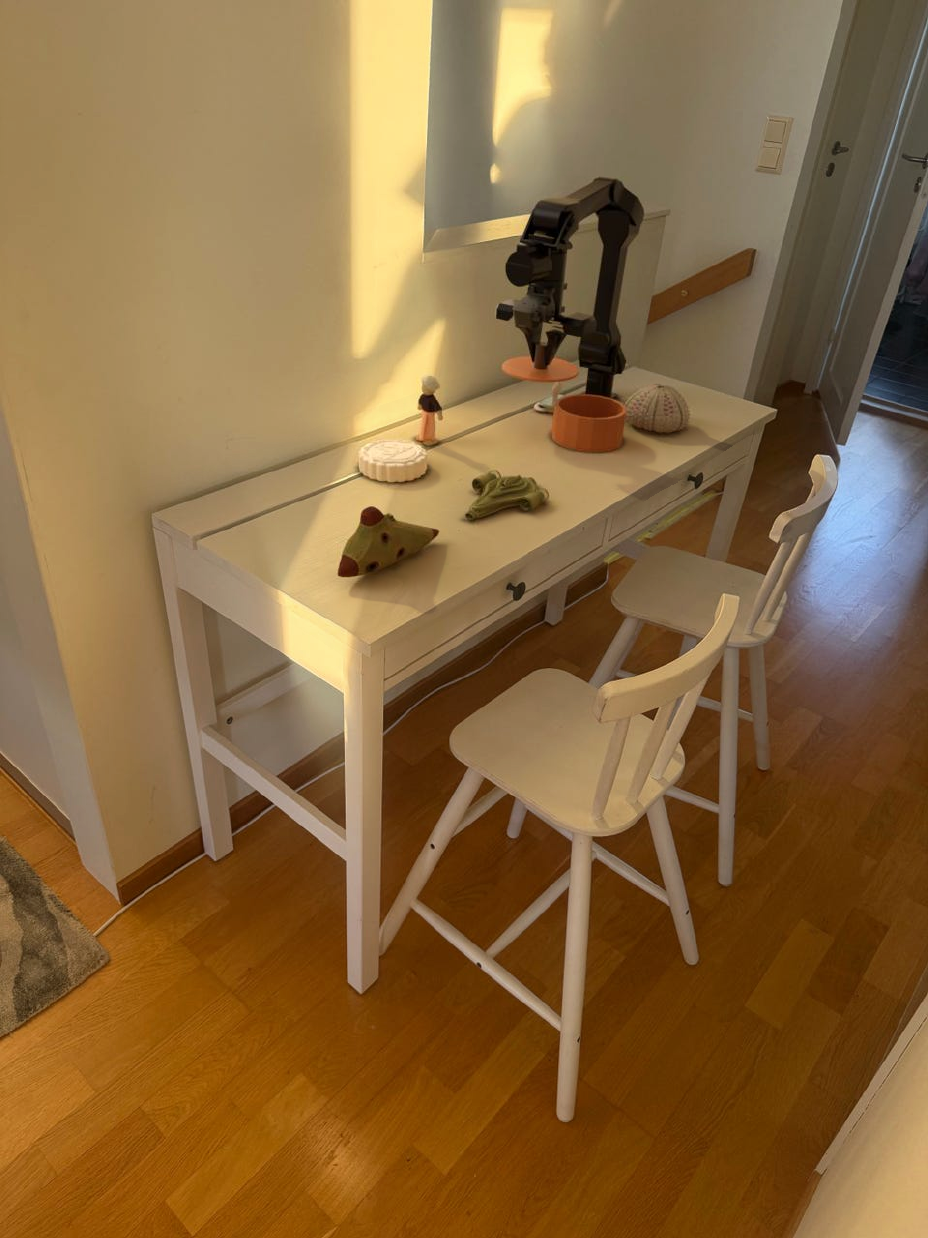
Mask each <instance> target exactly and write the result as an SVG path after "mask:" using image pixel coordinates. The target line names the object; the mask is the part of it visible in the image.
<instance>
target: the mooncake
mask: <svg viewBox="0 0 928 1238" xmlns="http://www.w3.org/2000/svg"><path fill="white" fill-rule="evenodd" d="M358 467H359V471H360V472H361V474H362V475H363V476H365V477H368V478H369V479H371V480H377V481H378V482H388V483H396V482H398V483H403V482H405V481H409V482H410V481H413V480H415V479H419V478H421V476H422V475H425V474H426V471H427V470H428V453H427V449H425V448H423V446H421V445H420V444H417V443H415V442H413V441H407V440H405V439H380V440H373V441H372V442H369V443H367V444H365V446H364V445H363V446H362V447H361V448H360V450H359V451H358Z"/></svg>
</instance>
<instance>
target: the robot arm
mask: <svg viewBox="0 0 928 1238" xmlns="http://www.w3.org/2000/svg"><path fill="white" fill-rule="evenodd" d="M593 214H595V216H596V217H597V232H598V235H599V237H600V240H601V243H602V251H601V252H602V253H601V259H600V265H599V272H598V279H597V285H596V286H597V287H596V293H595V299H594V305H593V313H592V315H591V314H587V313H582V312H575V313H572V314H570V315H568V316H567V315H562V314H563V313H565V311H566V306H565V305H563V297H564V291H566V290H568V282H565V277H566V267H567V258H568V250H572V249H573V248H574V245H573V243H572V242H571V241H570V239H571V237H572V236H573V235H575V233H576V232H578V231H579V228H580V223H581V221H583V220H584V219H586V218H588V217H590V216H591V215H593ZM644 218H645V209H644V206H643V204H642V203H641V201H640V199H639V197H638V196H637V195H636V194H635V193H633V192H632V191H631V190H629V188H626V187H625V185H624V183H623V181H621V180H619V179H618V178H614V177H606V176H598V177H595V178H594V179H592V182H589V183H588V184H586V185H584V186H583V187H580V188H579V189H577V190H575V191H574V192H572V193H570V194H568V195H566V196H564V197H550V198H546V199H541V200H539V201H537V203H535V205H534V207H533V209H532V210H531V212H530V214H529V218H528V220H527V222H526V225H525V227H524V229H523V232H522V234H521V236H520V238H519V243H517V244H516V251H514V252H512V253H511V254H510V255H509V256H508V258H507V259H506V262H505V265H504V269H505V276H506V278H507V279H508V281H509V283H510V284H512V285H513V286H515V287H517V288H523V287H527V290H526V291H527V292H526V294H525V296H523V297H521V298H520V299H516V298H510V299H507V300H503V301H501V302H499V303H498V304H497V305H496V307H495V310H494V318H495V319H496V320H499V321H504V322H509V321H511V319H513V320H514V322H513V323H514V327H515V328H516V329H519V330H520V331H521V332H522V333H523V335H524V338H525V340H526V343H527V347H528V351H529V356H531V359H532V362H533V363H534V359H535V348H536V343H537V342H541V339H542V333H543V327H544V323H545V324H548V325H551V329H549V330H547V331H545V335H546V338H547V341H546V342H547V350H546V358H545V365H546V366H548V365H550V363H551V362H552V360H553V358H555V356H556V354H557V352H558V350H559V348H560V346H561V345H562V344H563V342H564V340H565V339H566V337H567V336H572V337H576V338H580V339H579V343H578V347H577V351H578V352H577V353H578V366H579V367H578V368H584V369H587V375H586V383H585V389H584V390H585V391H583V392H580V393H579V394H589V395H598V396H604V397H607V398H611V399H615V398H617V397H618V395H619V394H618V393H616V392H613V387H614V379H615V376H616V375H622V374H623V372H624V371H625V368H626V364H627V359H626V356H625V354H624V352H623V350H622V347H621V346H622V344H621V343H622V334H621V332H620V329H619V326H618V324H617V317H618V312H619V304H620V299H621V293H622V287H623V282H624V281H623V280H624V275H625V267H626V261H627V256H628V250H629V247H630V245H631V244H632V243H633V242H634V240H635V239H636V238H637V237H638V235H639V233H640V228H641V225H642V223H643V221H644Z"/></svg>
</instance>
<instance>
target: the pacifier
mask: <svg viewBox="0 0 928 1238" xmlns="http://www.w3.org/2000/svg"><path fill="white" fill-rule="evenodd" d="M562 388H563V387H562V383H561V382H554V384H553V386H552V388H551V391H550V396H548V397H546V398H544V399H542V400H541V401H539V402H537V403H535V404H534V406H533V408H534V410H535V411H537V412H542V413H544V412H546V413H552V414H553V413H554V404H555V402H556V400H557V399H559V398H561V397H563V396H565V395H563V394H560V393H561V391H562Z"/></svg>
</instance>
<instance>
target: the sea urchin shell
mask: <svg viewBox="0 0 928 1238" xmlns="http://www.w3.org/2000/svg"><path fill="white" fill-rule="evenodd" d="M623 405H624V406H625V407H626V408H627V411H626V418H625V419H626V421H627V422H630V424H631V425H634V426H635V427H636V428H638V429H644V430H645V431H648V432H652V431H654V432H656V433H661V434H662V433H664V434H667V433H668V434H669V433H670V434H671V433H672V432H678V431H681V430H682V429H683V428H685V426H687V424H688V423H689V420H690V418H691V417H690V416H691V413H690V412H691V411H690V410H689V406H688V405H687V401H686V400H685V398H684V396H683V395H682V394H681V393H680V392H679V391H678V390H677V389H676V388H674V387H673V386H671V385H667V384H666V385H665V384H660V383H653V384H651V385H646V386H645V387H642V388H640V389H637V391H636V392H632V395H631V396H629V398H628V399H627V400H626V402H625V403H623Z"/></svg>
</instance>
